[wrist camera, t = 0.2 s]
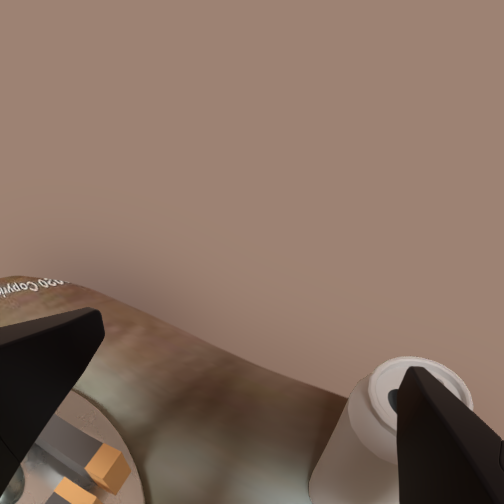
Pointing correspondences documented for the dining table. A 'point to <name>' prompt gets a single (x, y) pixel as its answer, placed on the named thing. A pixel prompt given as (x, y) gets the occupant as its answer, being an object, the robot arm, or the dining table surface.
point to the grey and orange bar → (84, 454)
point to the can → (371, 437)
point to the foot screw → (71, 494)
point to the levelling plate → (53, 471)
